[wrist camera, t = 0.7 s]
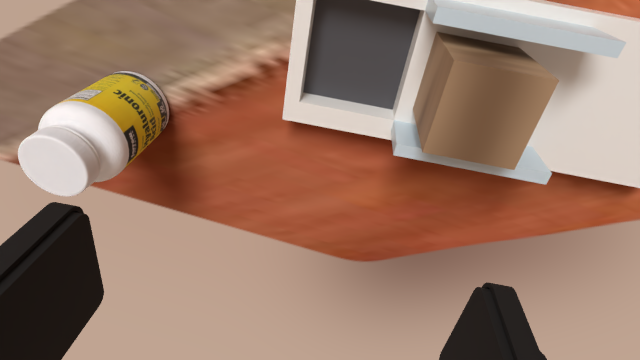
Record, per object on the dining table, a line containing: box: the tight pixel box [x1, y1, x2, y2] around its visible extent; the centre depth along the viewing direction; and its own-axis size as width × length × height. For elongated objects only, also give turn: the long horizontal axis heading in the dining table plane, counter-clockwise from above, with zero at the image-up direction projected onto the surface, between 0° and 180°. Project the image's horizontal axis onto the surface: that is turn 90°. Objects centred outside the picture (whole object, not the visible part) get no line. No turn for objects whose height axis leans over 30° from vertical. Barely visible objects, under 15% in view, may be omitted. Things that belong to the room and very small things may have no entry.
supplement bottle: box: [18, 71, 169, 196], centre depth 27 cm, size 5×5×10 cm
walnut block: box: [413, 32, 559, 170], centre depth 23 cm, size 5×5×6 cm
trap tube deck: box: [282, 0, 640, 188], centre depth 24 cm, size 26×10×6 cm, turn 81°
